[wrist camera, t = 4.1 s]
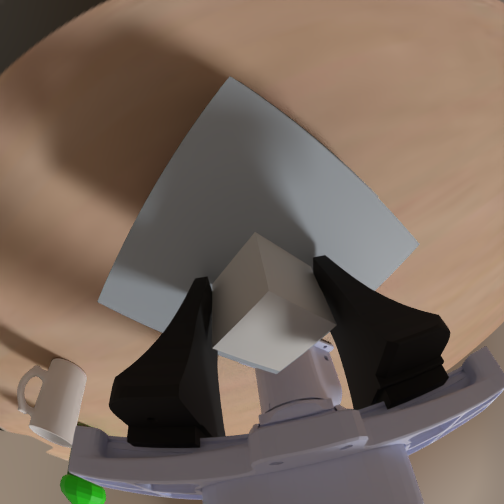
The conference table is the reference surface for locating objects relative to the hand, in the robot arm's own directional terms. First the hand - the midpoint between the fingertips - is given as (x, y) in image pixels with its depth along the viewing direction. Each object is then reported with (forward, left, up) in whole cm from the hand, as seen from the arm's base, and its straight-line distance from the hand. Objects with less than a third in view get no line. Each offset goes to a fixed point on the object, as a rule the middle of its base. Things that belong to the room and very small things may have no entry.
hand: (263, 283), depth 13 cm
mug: (+9, +35, -11) cm, 38 cm away
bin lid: (0, 0, -1) cm, 1 cm away
